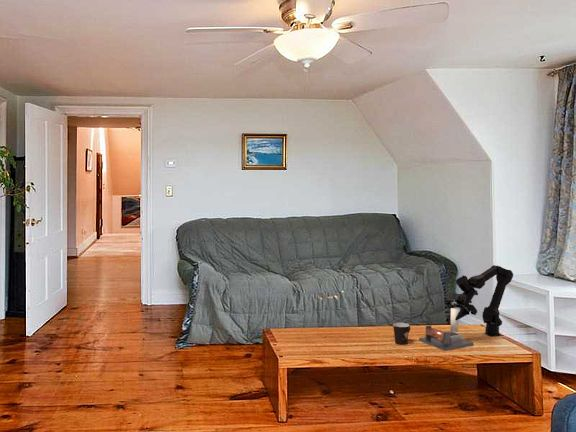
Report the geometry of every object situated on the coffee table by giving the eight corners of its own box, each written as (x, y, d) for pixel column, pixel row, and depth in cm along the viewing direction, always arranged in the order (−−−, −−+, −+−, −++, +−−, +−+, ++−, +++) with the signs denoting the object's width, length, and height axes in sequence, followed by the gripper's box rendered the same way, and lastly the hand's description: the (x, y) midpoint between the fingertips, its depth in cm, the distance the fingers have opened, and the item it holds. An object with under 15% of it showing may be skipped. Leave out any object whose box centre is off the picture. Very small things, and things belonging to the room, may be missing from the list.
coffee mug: (397, 346, 276) (397, 327, 276) (390, 341, 284) (390, 323, 284) (417, 344, 279) (417, 326, 279) (409, 339, 287) (409, 322, 287)
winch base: (446, 336, 295) (446, 321, 294) (473, 345, 277) (473, 329, 276) (418, 340, 286) (419, 325, 285) (444, 350, 268) (445, 334, 267)
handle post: (454, 329, 283) (454, 307, 282) (459, 331, 280) (460, 309, 279) (448, 330, 281) (449, 308, 280) (454, 332, 278) (454, 310, 277)
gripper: (446, 284, 289) (432, 306, 284) (473, 290, 273) (459, 313, 268) (456, 296, 294) (442, 318, 289) (483, 303, 278) (469, 326, 273)
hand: (452, 319), depth 279 cm, fingers closed on handle post, 4 cm apart
